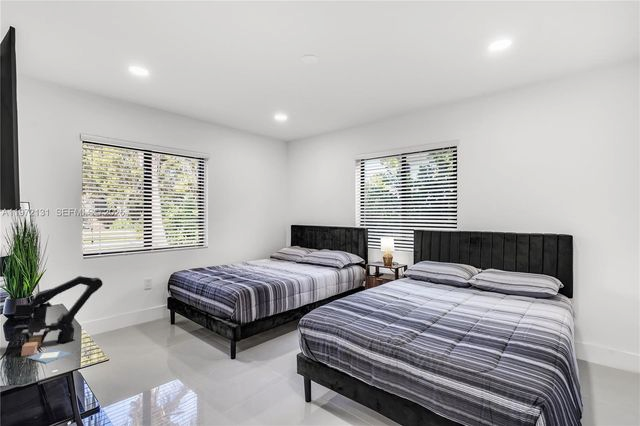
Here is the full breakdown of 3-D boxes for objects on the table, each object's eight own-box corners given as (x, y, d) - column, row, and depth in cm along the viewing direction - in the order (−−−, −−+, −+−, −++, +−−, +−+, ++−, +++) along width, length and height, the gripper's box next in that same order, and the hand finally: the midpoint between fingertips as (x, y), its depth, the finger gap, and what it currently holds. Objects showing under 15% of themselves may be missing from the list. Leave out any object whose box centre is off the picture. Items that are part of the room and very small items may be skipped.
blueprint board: (52, 349, 168) (52, 348, 168) (70, 354, 165) (71, 353, 165) (27, 358, 157) (27, 357, 157) (46, 363, 153) (46, 362, 153)
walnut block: (30, 344, 172) (31, 335, 173) (42, 343, 175) (43, 334, 175) (27, 347, 168) (29, 338, 168) (40, 346, 171) (41, 337, 171)
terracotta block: (24, 352, 163) (25, 342, 163) (36, 351, 165) (38, 341, 165) (21, 356, 158) (22, 346, 159) (33, 355, 161) (35, 345, 161)
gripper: (11, 320, 161) (7, 351, 160) (57, 318, 170) (53, 347, 169) (18, 314, 170) (14, 343, 170) (61, 312, 180) (58, 339, 179)
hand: (35, 343), depth 172 cm, fingers closed on walnut block, 5 cm apart
